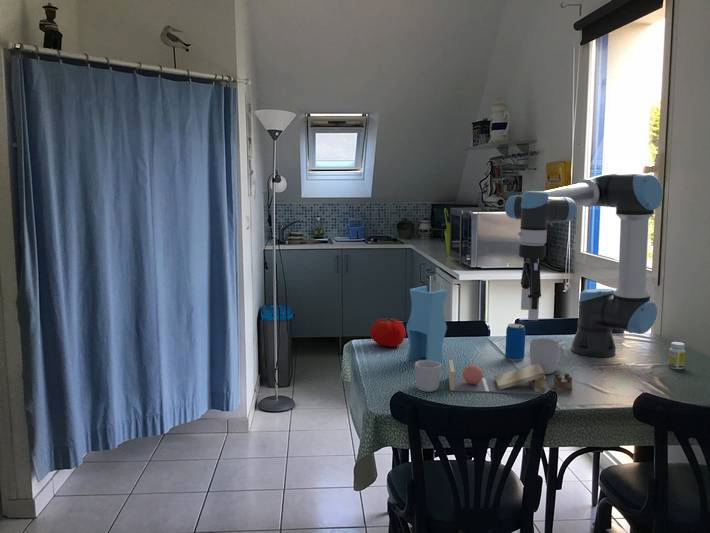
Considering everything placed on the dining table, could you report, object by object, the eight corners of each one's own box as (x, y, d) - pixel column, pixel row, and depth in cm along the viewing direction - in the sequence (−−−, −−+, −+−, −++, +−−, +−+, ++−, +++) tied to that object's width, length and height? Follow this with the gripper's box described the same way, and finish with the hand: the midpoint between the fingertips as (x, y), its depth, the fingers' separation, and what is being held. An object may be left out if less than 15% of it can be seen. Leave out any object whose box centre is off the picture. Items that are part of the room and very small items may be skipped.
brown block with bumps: (568, 386, 196) (569, 372, 195) (572, 391, 191) (573, 377, 190) (553, 386, 196) (554, 372, 195) (556, 391, 192) (557, 376, 191)
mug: (541, 376, 205) (543, 346, 203) (523, 368, 213) (524, 339, 211) (572, 372, 210) (574, 342, 208) (553, 364, 218) (555, 336, 216)
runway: (545, 381, 200) (546, 363, 199) (553, 395, 188) (554, 375, 187) (448, 378, 203) (448, 359, 202) (450, 390, 191) (450, 371, 190)
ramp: (539, 383, 199) (540, 363, 198) (545, 393, 190) (546, 372, 189) (494, 381, 200) (495, 361, 199) (497, 391, 191) (498, 370, 190)
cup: (410, 382, 199) (410, 357, 197) (435, 381, 199) (436, 356, 198) (416, 394, 188) (417, 368, 187) (443, 393, 189) (444, 367, 188)
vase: (445, 360, 221) (447, 289, 218) (428, 366, 214) (430, 293, 211) (422, 354, 228) (424, 285, 224) (405, 360, 221) (407, 289, 217)
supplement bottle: (682, 366, 217) (684, 342, 216) (684, 370, 213) (687, 345, 212) (667, 364, 219) (669, 340, 218) (669, 368, 214) (671, 344, 213)
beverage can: (524, 362, 220) (526, 328, 218) (505, 361, 222) (506, 327, 220) (523, 356, 227) (525, 323, 225) (504, 355, 228) (506, 322, 226)
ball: (483, 378, 199) (479, 360, 198) (485, 384, 193) (481, 366, 192) (464, 382, 199) (460, 364, 199) (466, 389, 194) (461, 370, 193)
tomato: (411, 344, 241) (411, 317, 239) (395, 352, 231) (395, 324, 229) (380, 339, 248) (381, 312, 246) (364, 346, 238) (364, 319, 236)
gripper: (513, 239, 201) (510, 305, 204) (526, 248, 176) (522, 323, 179) (538, 239, 200) (534, 306, 203) (554, 249, 175) (550, 324, 179)
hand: (529, 314), depth 191 cm, fingers open, 13 cm apart
